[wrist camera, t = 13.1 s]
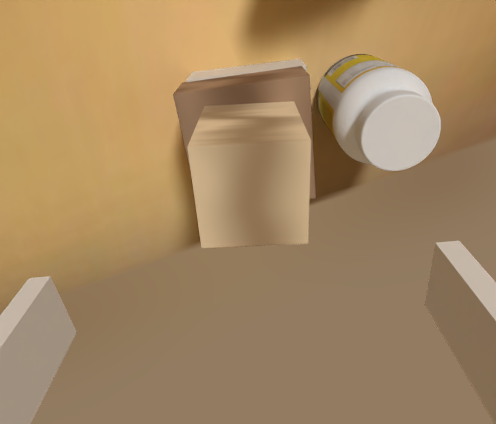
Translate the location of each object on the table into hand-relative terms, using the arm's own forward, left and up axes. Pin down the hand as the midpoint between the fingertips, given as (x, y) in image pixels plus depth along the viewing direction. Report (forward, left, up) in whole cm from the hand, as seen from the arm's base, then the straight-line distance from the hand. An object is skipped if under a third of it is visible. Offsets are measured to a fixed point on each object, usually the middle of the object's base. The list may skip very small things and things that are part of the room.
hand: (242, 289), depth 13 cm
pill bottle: (+9, +1, -23) cm, 25 cm away
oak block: (0, 0, -15) cm, 15 cm away
